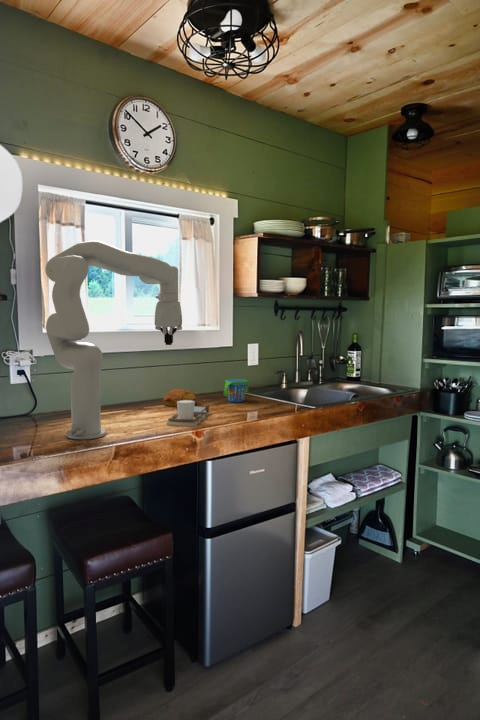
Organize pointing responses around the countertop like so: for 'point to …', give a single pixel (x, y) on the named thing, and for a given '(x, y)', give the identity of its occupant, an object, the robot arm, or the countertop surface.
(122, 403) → the countertop surface
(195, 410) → the flap
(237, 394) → the snack cup
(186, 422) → the jig board
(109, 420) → the countertop surface
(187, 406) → the white tapered cup
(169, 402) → the croissant
